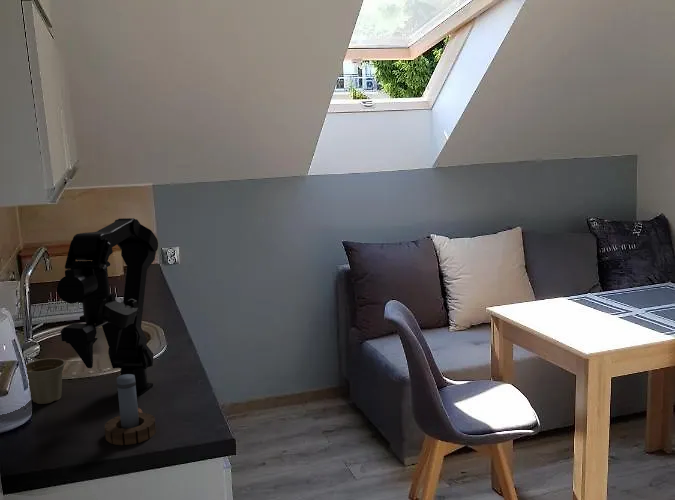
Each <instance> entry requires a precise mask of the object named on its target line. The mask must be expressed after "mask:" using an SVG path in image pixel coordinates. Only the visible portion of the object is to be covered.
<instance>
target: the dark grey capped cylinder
mask: <svg viewBox="0 0 675 500" xmlns="http://www.w3.org/2000/svg"><path fill="white" fill-rule="evenodd" d="M116 387H117V391H118V393H117V397H118V407H119V416H120V419H121V428H122V429H128V428H134V427H137V426H139V416H138V408H139V407H138V399H137V398H138V395H136V381H135V375H133V374H125V375H121V374H120V375H119V376H117V377H116Z"/></svg>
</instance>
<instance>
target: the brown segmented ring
mask: <svg viewBox="0 0 675 500" xmlns="http://www.w3.org/2000/svg"><path fill="white" fill-rule="evenodd" d="M138 416H139V426H137V427H134V428H128V429H122V428H121V419H120V415H118V416H115V417H113V418H111V419H109V420H108V421H107V422H105V424H104V435H105V440H106V442H108V443H109V444H111V445H112V444H113V445H116V446H124V445H125V446H128V445H129V446H131V445H137V443H138V444H140V443H142V442H145V441H147V440H149V439H151V438H152V437H153V436H155V434H156V433H157V428H156V417H155V416H154V415H152V414H150V413H147V412H143V413H139V412H138Z"/></svg>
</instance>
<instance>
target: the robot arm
mask: <svg viewBox="0 0 675 500" xmlns="http://www.w3.org/2000/svg"><path fill="white" fill-rule="evenodd" d="M69 243H70V244H69V249H68V252H67V256H66V261H65V265H64V269H65V270H64V276H63V277H61V278H60V280H59V281H58V284H57V287H56V291H57V295H58V296H59V298H60V299H61V300H62V301H63V302H65V303H67V304H71V305H72V304H77V303H78V304H82V312H83V313H82V314H83V315H81V316H79V322H72V323H70V324H68V325H66V326H65V327H63V328H62V329H61V330H60V340H61V342H65V343H66V344H69V345H70V347H72V348H73V350H74V351H75V352H76V354H77V355H78V356H79V358H80V360H81V361H82V363H83V364H84V365H85V366H86V368H87V369H93V367H94V354H93V353H94V344H95V343H96V342H97V340H98V339H99V338H98V337H97V332H98V331H97V329H98V328H100V327H101V328H102V331H103V334H104V336H105V339H106V342H107V346H108V357H109V361H110V364H111V367H112V369H120V371H119V372H120V376H121V375H125V374H133V375H135V381H136V395H137V396H141V395H143V394H144V393H145V392H147V391H148V390H149V389H150V388H152V387H153V386H154V383H152V382H148V373H147V369H148V368H150V367H151V368H152V367H153V365H154V353H153V351H152V350H151V349H150V347H149V346H148V345H147V343H148V342H147V341H148V338H147V337H146V334H145V332H144V330H143V328H142V323H143V311H144V304H145V303H144V302H145V295H146V294H145V293H146V283H147V273H148V269H149V268H150V266H151V265H152V264H153V263H154V261H155V259H156V254H157V251H158V249H159V241H158V238H157V236H156V235H155V233H154V232H153V230H152V229H150V228H148V227H147V226H144V225H143V224H141V223H140V221H139V220H138V219H135V217H133V218H131V217H129V218H128V217H127V218H126V217H125V218H124V217H123V218H120V217H119V218H118V219H115V220H114V221H113V222H112V223H110V224H108V225H107V226H106V225H105V226H104V227H102V228H101V229H98V230H96V231H91V232H80V233H76V234H75V235H73V238H72V240H70V242H69ZM115 246H117V247H119V248H120V250H121V251H120V252H121V254H120V255H121V257H122V260H123V261H124V263H125V265H126V271H125V272H126V274H125V281H124V290H123V299H122V301H117V298H116V295H115V293H111V291H110V283H109V272H108V267H110V266H111V263H110V262H109V258H110V256H111V255H112V254H113V251H114V250H113V247H115ZM80 322H85V323H80ZM116 394H118V390H116Z"/></svg>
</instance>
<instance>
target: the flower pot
mask: <svg viewBox="0 0 675 500" xmlns="http://www.w3.org/2000/svg"><path fill="white" fill-rule="evenodd" d="M25 365H26V367H27V374H28V379H29V383H28V387H29V386H30V387H29V390H30V394H31V398H32V401H33V403H36V404H37V405H44V404H51V403H53V402H55V401H57V402H58V401H59V400H60V399H61V398H62V389H63V384H62V383H63V372H64V367H65V365H66V360H64V359H63V358H58V357H55V358H50V357H49V358H42V359H36V360H34V361H30V362H27V363H26V364H25Z"/></svg>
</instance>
